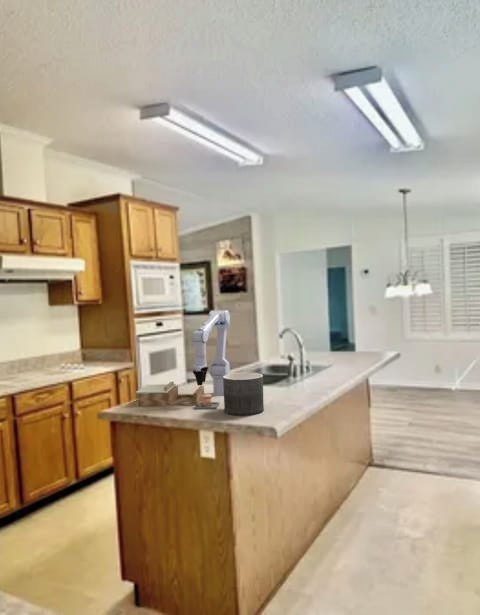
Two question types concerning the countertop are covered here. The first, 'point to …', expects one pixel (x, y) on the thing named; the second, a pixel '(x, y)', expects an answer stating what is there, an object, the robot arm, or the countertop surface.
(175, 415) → the countertop surface
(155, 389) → the lid
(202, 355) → the robot arm
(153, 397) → the cold frame
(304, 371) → the countertop surface
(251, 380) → the planter
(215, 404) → the tray
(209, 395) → the pot
